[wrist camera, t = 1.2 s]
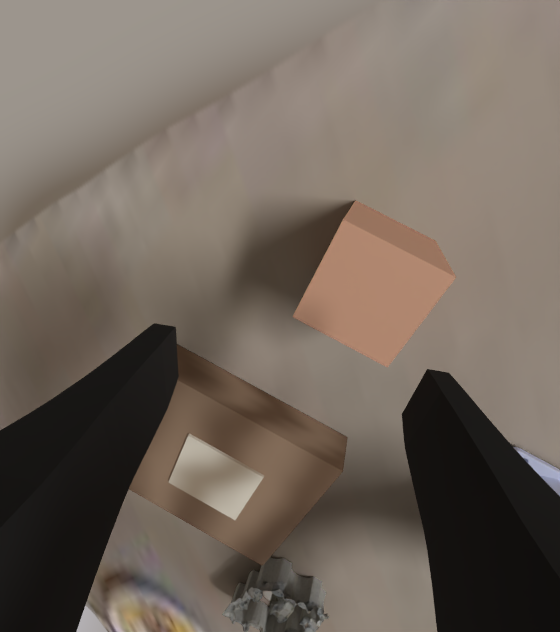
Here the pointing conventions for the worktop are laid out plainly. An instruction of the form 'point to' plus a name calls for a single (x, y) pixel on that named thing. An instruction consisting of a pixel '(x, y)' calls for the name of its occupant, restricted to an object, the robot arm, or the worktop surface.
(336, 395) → the worktop surface
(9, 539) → the robot arm
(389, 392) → the worktop surface
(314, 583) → the egg carton
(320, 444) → the walnut base
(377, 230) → the terracotta block
